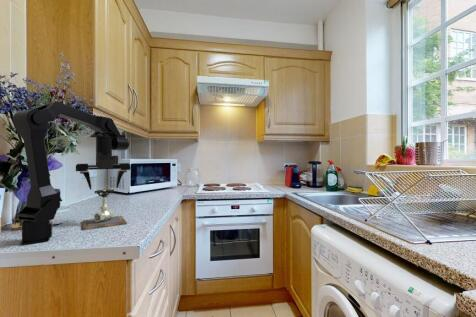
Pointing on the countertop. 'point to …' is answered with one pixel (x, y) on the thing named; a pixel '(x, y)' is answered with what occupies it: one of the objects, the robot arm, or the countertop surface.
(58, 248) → the countertop surface
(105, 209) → the valve
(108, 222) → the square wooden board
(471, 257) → the countertop surface
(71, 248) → the countertop surface
